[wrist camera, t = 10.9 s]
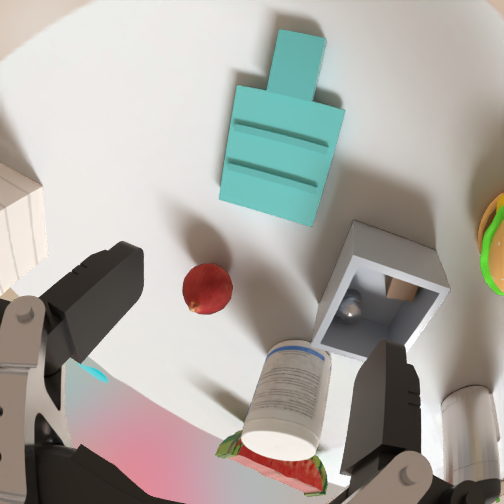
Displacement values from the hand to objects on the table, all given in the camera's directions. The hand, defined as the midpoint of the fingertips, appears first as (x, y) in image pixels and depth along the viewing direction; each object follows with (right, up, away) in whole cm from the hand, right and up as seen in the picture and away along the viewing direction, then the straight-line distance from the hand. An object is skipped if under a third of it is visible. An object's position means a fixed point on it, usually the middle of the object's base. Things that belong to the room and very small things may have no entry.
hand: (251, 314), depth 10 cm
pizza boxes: (-48, +12, +38) cm, 62 cm away
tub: (+14, -1, +24) cm, 28 cm away
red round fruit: (-4, 0, +30) cm, 30 cm away
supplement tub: (+7, -14, +34) cm, 38 cm away
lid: (+3, +14, +19) cm, 24 cm away
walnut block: (+16, 0, +22) cm, 27 cm away
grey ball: (+11, -3, +26) cm, 28 cm away
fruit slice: (+7, -39, +50) cm, 63 cm away
